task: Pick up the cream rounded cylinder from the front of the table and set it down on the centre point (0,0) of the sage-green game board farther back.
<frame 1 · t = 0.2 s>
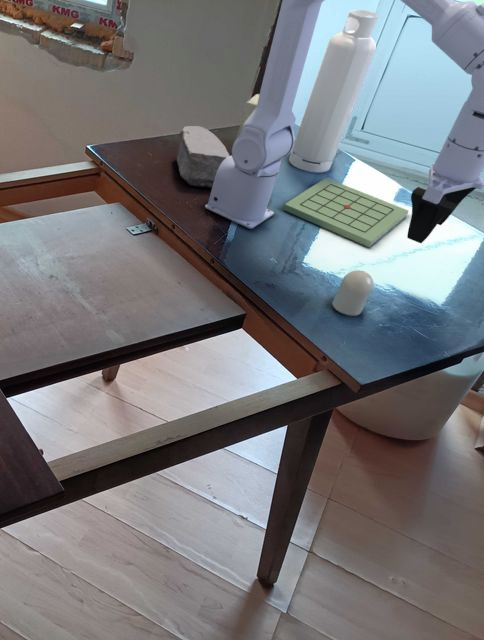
hand: (424, 230, 99), 10 cm above the table, tool pointing down, fingers open, 7 cm apart
cosmetic box: (244, 161, 137), on the table
cream rounded cylinder: (346, 306, 101), on the table
decorative stone: (195, 175, 131), on the table
bottle: (309, 164, 138), on the table
game board: (344, 213, 123), on the table
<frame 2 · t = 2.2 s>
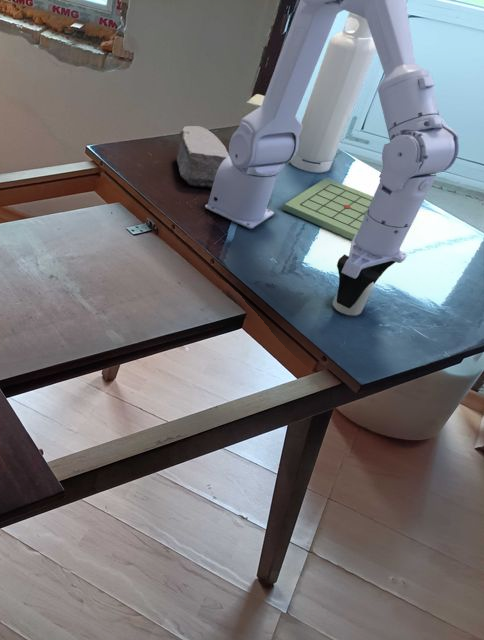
hand: (350, 298, 100), 2 cm above the table, tool pointing down, fingers closed on cream rounded cylinder, 4 cm apart
cream rounded cylinder: (346, 306, 101), on the table, touching gripper
everything else where it was.
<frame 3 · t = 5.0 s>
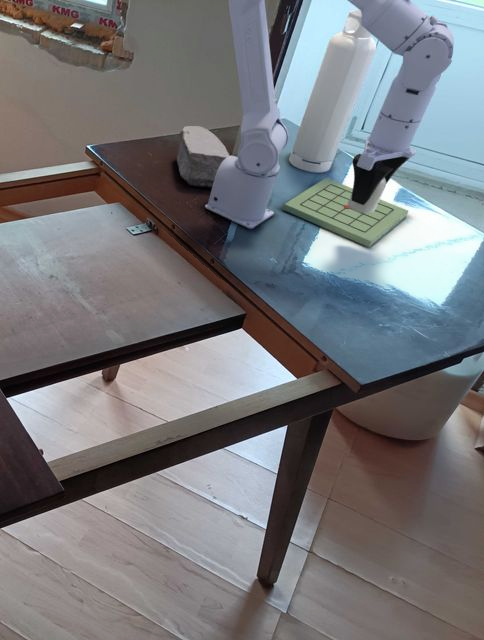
hand: (364, 197, 110), 8 cm above the table, tool pointing down, fingers closed on cream rounded cylinder, 4 cm apart
cream rounded cylinder: (361, 206, 111), point 7 cm above the table, touching gripper
everything else where it was.
when the fingers open (3 cm above the table, at t = 7.6 s): cream rounded cylinder stays where it is, resting on game board.
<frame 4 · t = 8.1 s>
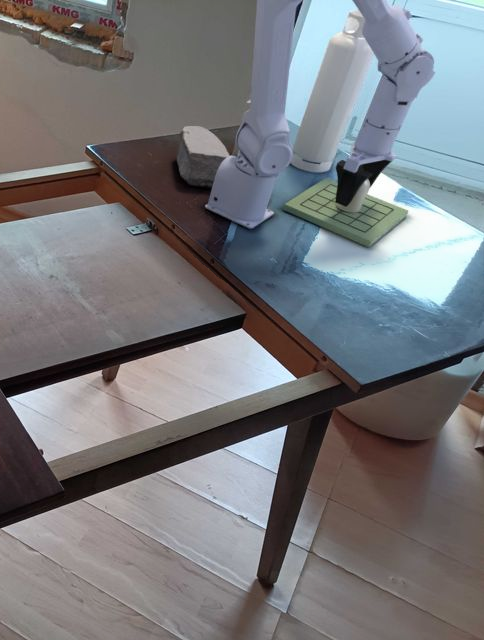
hand: (351, 197, 121), 3 cm above the table, tool pointing down, fingers open, 7 cm apart
cream rounded cylinder: (347, 206, 122), point 1 cm above the table, touching game board
everything else where it was.
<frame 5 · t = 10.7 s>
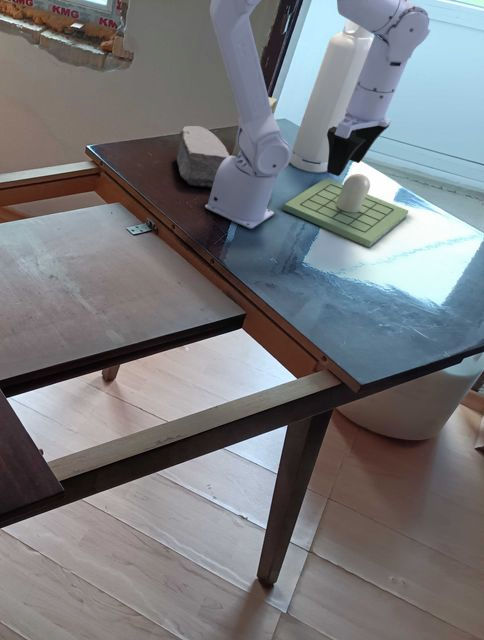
hand: (343, 166, 115), 9 cm above the table, tool pointing down, fingers open, 7 cm apart
nothing on the table moved.
at the end: cream rounded cylinder 0.1 cm off-centre on the game board, point 1.3 cm above the game board's base; cream rounded cylinder tilted 0°; the gripper is holding nothing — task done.
